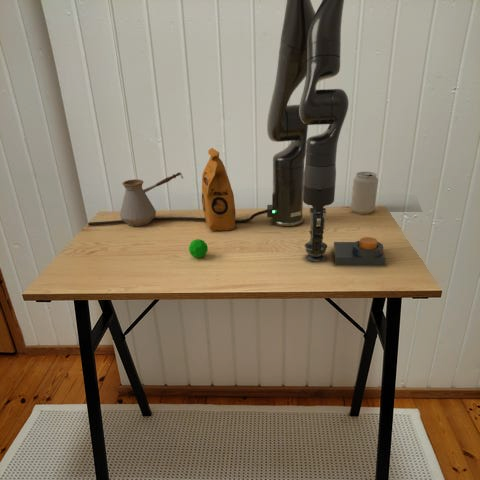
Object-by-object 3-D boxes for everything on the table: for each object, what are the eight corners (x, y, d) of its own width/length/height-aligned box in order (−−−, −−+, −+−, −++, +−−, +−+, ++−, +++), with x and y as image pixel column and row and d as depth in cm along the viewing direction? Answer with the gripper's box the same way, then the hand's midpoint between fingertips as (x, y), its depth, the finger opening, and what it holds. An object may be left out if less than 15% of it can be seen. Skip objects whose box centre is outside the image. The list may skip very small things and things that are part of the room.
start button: (359, 250, 113) (360, 243, 112) (358, 243, 117) (358, 237, 116) (377, 250, 113) (378, 244, 112) (375, 243, 117) (376, 237, 116)
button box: (335, 265, 115) (336, 251, 113) (333, 249, 123) (334, 235, 121) (384, 266, 113) (386, 251, 111) (378, 249, 122) (380, 235, 120)
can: (374, 215, 144) (379, 176, 138) (350, 214, 145) (354, 176, 139) (373, 207, 150) (378, 170, 144) (350, 206, 152) (354, 170, 145)
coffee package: (205, 233, 137) (198, 157, 125) (203, 219, 147) (197, 148, 135) (237, 230, 137) (234, 155, 126) (233, 216, 148) (230, 146, 136)
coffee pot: (118, 229, 142) (109, 181, 134) (123, 217, 152) (115, 171, 144) (187, 225, 143) (182, 177, 135) (187, 213, 153) (183, 167, 145)
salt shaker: (329, 255, 120) (332, 211, 114) (322, 264, 116) (325, 219, 109) (307, 252, 122) (309, 209, 116) (300, 261, 118) (302, 216, 111)
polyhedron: (211, 258, 121) (209, 241, 119) (193, 262, 120) (192, 245, 117) (203, 251, 125) (202, 235, 123) (187, 255, 124) (185, 239, 121)
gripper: (303, 174, 115) (301, 237, 124) (303, 191, 103) (301, 259, 112) (333, 174, 114) (329, 237, 123) (337, 191, 102) (332, 260, 111)
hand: (315, 247), depth 117 cm, fingers closed on salt shaker, 6 cm apart
